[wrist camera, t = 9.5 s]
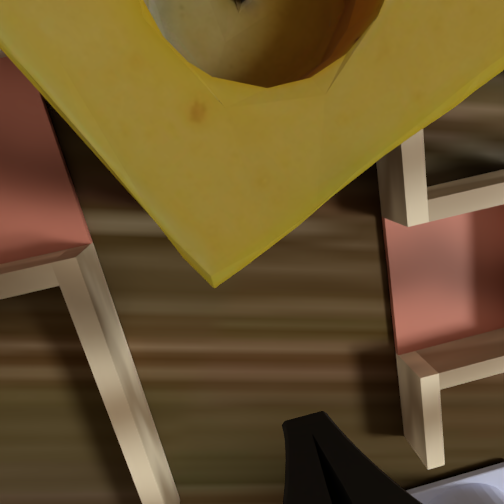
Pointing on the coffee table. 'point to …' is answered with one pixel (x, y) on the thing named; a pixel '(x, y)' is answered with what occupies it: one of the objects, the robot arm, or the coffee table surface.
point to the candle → (248, 99)
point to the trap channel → (397, 258)
